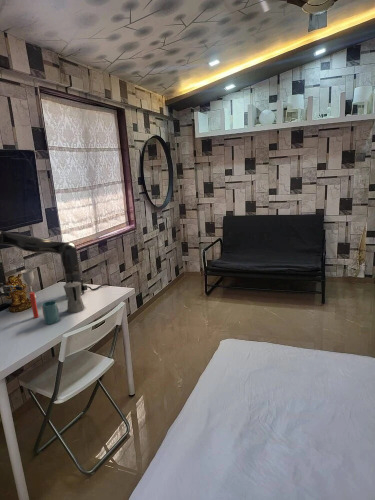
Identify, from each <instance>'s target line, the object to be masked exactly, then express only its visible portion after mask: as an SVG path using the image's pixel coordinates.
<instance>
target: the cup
mask: <svg viewBox="0 0 375 500" xmlns="http://www.w3.org/2000/svg"><path fill="white" fill-rule="evenodd" d="M41 309H42V315H43V320H44V324H46V325H54V324H57V323H59V321H60V320H61V319H60V313H59V307H58V302H57V300H48V301H45V302H42V303H41Z"/></svg>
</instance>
